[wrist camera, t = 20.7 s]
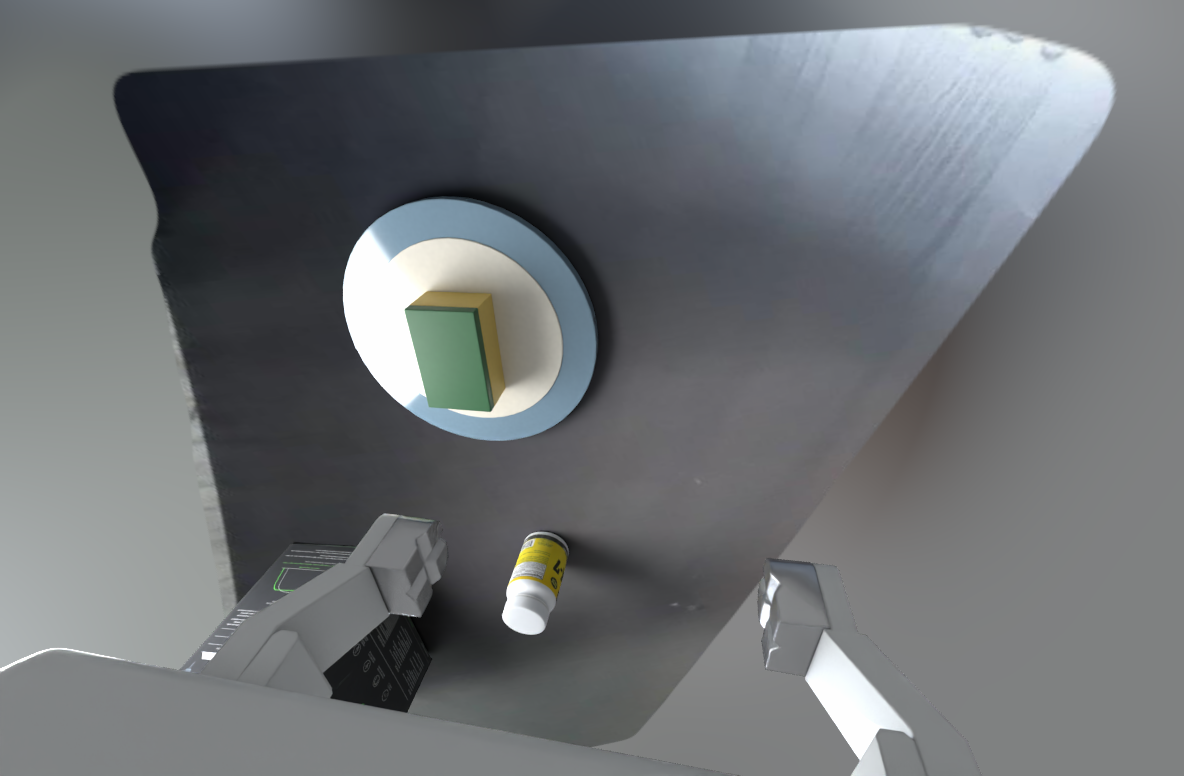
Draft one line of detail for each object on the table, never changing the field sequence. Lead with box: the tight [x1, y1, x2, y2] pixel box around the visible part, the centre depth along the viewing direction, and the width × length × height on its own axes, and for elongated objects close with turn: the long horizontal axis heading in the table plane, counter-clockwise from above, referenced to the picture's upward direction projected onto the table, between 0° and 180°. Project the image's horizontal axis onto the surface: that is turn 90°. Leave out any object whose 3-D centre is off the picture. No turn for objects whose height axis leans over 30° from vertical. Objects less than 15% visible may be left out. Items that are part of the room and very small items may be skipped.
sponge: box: [404, 291, 505, 412], centre depth 35 cm, size 8×5×3 cm, turn 3°
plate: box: [343, 196, 598, 441], centre depth 37 cm, size 20×20×1 cm
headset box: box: [180, 544, 432, 713], centre depth 51 cm, size 22×12×26 cm, turn 9°
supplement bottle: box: [503, 532, 569, 635], centre depth 46 cm, size 5×5×8 cm
